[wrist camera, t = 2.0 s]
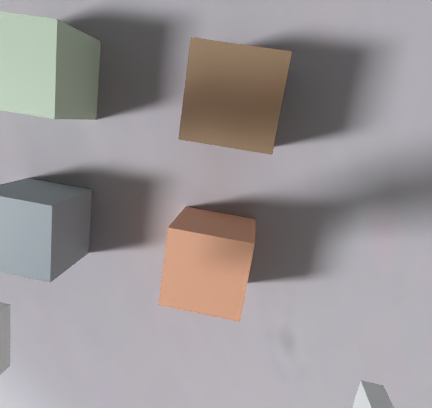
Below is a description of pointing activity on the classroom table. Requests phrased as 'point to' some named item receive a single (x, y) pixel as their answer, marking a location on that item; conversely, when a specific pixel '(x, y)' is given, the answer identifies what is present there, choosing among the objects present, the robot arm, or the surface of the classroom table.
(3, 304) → the robot arm
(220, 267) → the terracotta block
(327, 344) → the classroom table surface
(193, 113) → the walnut block
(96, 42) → the sage block
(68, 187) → the slate block
